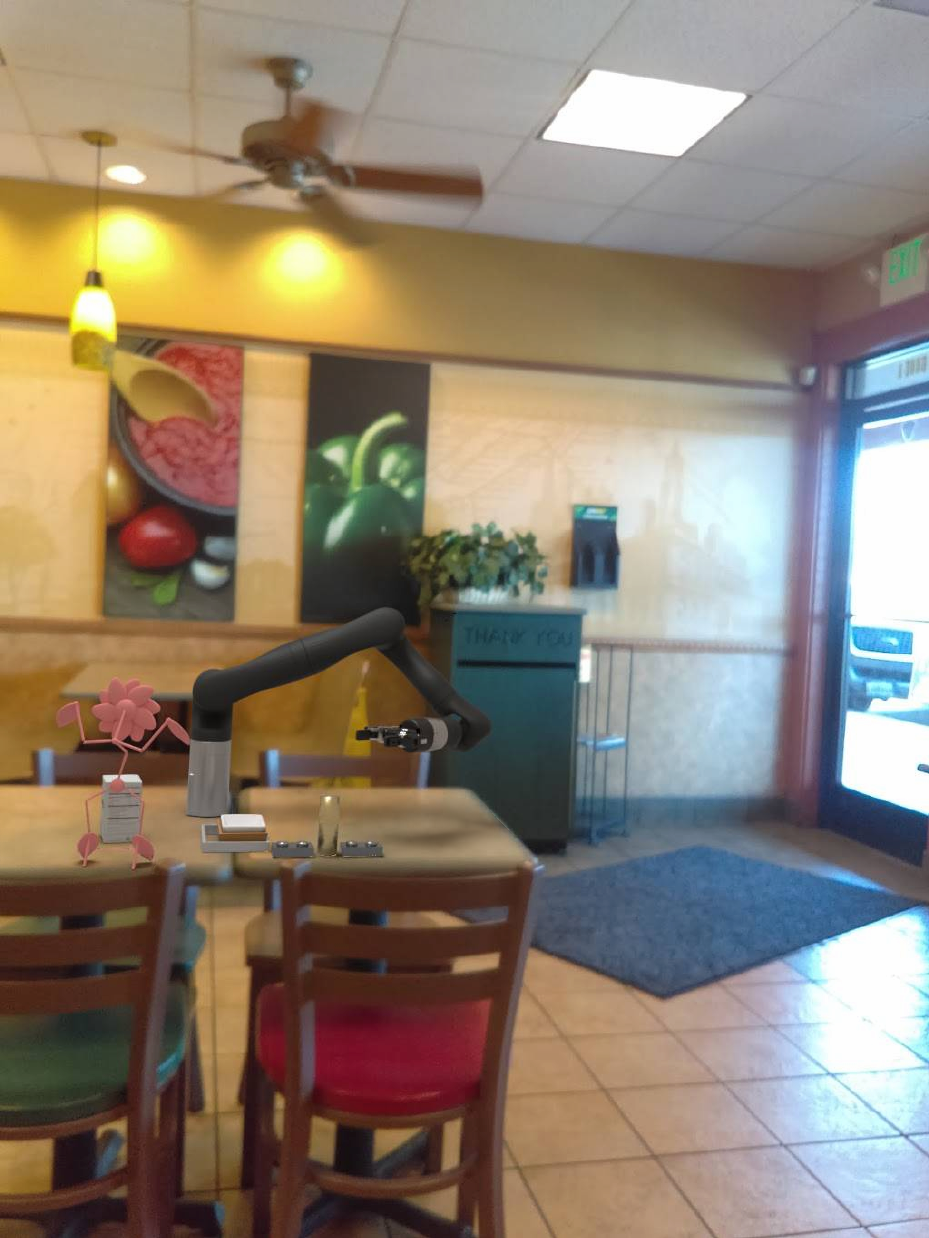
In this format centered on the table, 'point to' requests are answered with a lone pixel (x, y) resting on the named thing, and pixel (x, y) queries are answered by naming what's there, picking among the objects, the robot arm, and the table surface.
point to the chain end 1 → (292, 849)
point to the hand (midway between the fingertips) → (370, 738)
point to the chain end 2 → (361, 848)
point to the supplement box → (120, 810)
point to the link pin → (328, 824)
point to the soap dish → (242, 828)
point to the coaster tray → (230, 846)
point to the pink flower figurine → (123, 717)
